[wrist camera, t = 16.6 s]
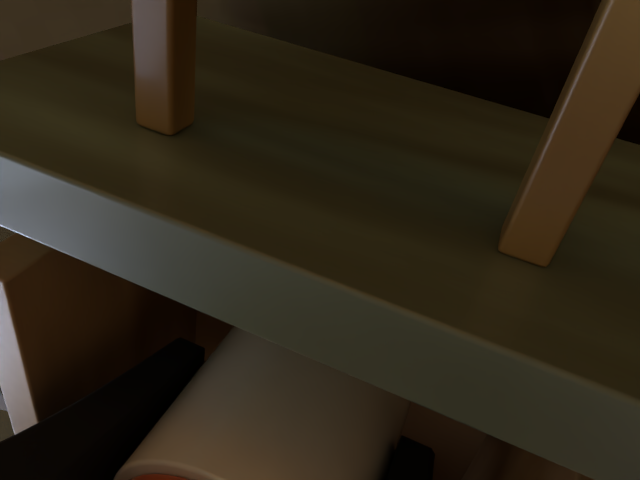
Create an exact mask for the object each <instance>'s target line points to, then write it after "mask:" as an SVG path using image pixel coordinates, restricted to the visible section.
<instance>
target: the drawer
mask: <svg viewBox="0 0 640 480" xmlns="http://www.w3.org/2000/svg"><path fill="white" fill-rule="evenodd" d="M131 16H132V23H129V24H125V25H122V26H118V27H115V28H111V29H108V30H105V31H101V32H98V33H94V34H91V35H87V36H84V37H80V38H77V39H74V40H70V41H67V42H63V43H60V44H56V45H53V46H49V47H46V48H43V49H39V50H36V51H32V52H29V53H25V54H22V55H18V56H15V57H12V58H8V59H5V60H1V61H0V226H2V227H4V228H6V229H9V230H11V231H13V232H16V233H15V234H14V235H12V236H10V237H9V238H7V239H5V240H4V241H2V242H0V386H1V389H2V393H3V396H4V400H5V403H6V406H7V410H8V413H9V417H10V420H11V423H12V427H13V430H14V434H17V433H19V432H21V431H23V430H25V429H27V428H29V427H31V426H33V425H35V424H37V423H39V422H40V421H42V420H44V419H46V418H48V417H50V416H51V415H53V414H55V413H57V412H59V411H60V410H62V409H64V408H66V407H68V406H70V405H71V404H73V403H75V402H77V401H78V400H80V399H82V398H84V397H85V396H87V395H89V394H90V393H92V392H94V391H95V390H97V389H99V388H100V387H102V386H104V385H105V384H107V383H108V382H110V381H112V380H113V379H115V378H117V377H118V376H120V375H121V374H123V373H125V372H126V371H128V370H129V369H131V368H133V367H134V366H136V365H137V364H139V363H140V362H142V361H143V360H145V359H146V358H148V357H150V356H151V355H153V354H154V353H156V352H157V351H159V350H160V349H162V348H163V347H165V346H166V345H168V344H169V343H171V342H172V341H174V340H175V339H177V338H180V337H181V338H184V339H186V340H188V341H190V342H193V343H195V344H197V345H199V346H202V347H204V348H205V357H204V361H205V360H206V359H207V358H208V356H209V355H210V354H211V352H212V351H213V350H214V349H215V347H216V346H217V345H218V344H219V342H220V341H221V340H222V339H223V337H224V336H225V335H226V334H227V332H228V331H229V330H230V329H231V327H232V326H236V327H238V328H240V329H243V330H245V331H247V332H250V333H252V334H254V335H257V336H259V337H261V338H264V339H266V340H268V341H271V342H273V343H275V344H278V345H280V346H282V347H285V348H287V349H289V350H292V351H294V352H296V353H299V354H301V355H303V356H306V357H308V358H310V359H313V360H315V361H317V362H320V363H322V364H324V365H327V366H329V367H331V368H334V369H336V370H339V371H341V372H343V373H346V374H348V375H350V376H353V377H355V378H357V379H360V380H362V381H364V382H367V383H369V384H371V385H374V386H376V387H378V388H381V389H383V390H385V391H388V392H390V393H392V394H395V395H397V396H399V397H402V398H404V399H406V400H409V401H411V406H410V409H409V413H408V416H407V419H406V422H405V425H404V428H403V431H402V434H401V435H403V436H405V437H407V438H410V439H412V440H414V441H416V442H419V443H421V444H423V445H425V446H428V447H430V448H432V450H433V451H434V453H435V459H434V467H433V480H640V145H638V144H635V143H631V142H628V141H624V140H621V139H618V138H616V137H617V135H618V134H619V132H620V130H621V128H622V126H623V124H624V122H625V120H626V118H627V117H628V115H629V113H630V111H631V109H632V107H633V105H634V103H635V101H636V100H637V98H638V96H639V94H640V0H601V3H600V5H599V7H598V9H597V12H596V14H595V16H594V19H593V21H592V23H591V25H590V28H589V30H588V32H587V35H586V37H585V39H584V41H583V44H582V46H581V48H580V50H579V53H578V55H577V57H576V60H575V62H574V64H573V66H572V69H571V71H570V73H569V75H568V78H567V80H566V82H565V85H564V87H563V89H562V91H561V94H560V96H559V98H558V101H557V103H556V105H555V107H554V110H553V112H552V114H551V116H550V119H549V118H545V117H542V116H539V115H535V114H532V113H528V112H525V111H521V110H518V109H515V108H511V107H508V106H504V105H501V104H497V103H494V102H491V101H487V100H484V99H480V98H477V97H473V96H470V95H467V94H463V93H460V92H456V91H453V90H449V89H446V88H443V87H439V86H436V85H432V84H429V83H425V82H422V81H419V80H415V79H412V78H408V77H405V76H401V75H398V74H395V73H391V72H388V71H384V70H381V69H377V68H374V67H370V66H367V65H364V64H360V63H357V62H353V61H350V60H346V59H343V58H340V57H336V56H333V55H329V54H326V53H322V52H319V51H316V50H312V49H309V48H305V47H302V46H298V45H295V44H292V43H288V42H285V41H281V40H278V39H274V38H271V37H268V36H264V35H261V34H257V33H254V32H250V31H247V30H244V29H240V28H237V27H233V26H230V25H226V24H223V23H220V22H216V21H213V20H209V19H206V18H202V17H199V16H197V0H131ZM400 438H401V437H400Z"/></svg>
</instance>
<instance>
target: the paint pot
mask: <svg viewBox="0 0 640 480" xmlns="http://www.w3.org/2000/svg"><path fill="white" fill-rule="evenodd" d="M410 406H411V401H409V400H406V399H404V398H402V397H399V396H397V395H395V394H392V393H390V392H388V391H385V390H383V389H381V388H378V387H376V386H374V385H371V384H369V383H367V382H364V381H362V380H360V379H357V378H355V377H353V376H350V375H348V374H346V373H343V372H341V371H339V370H336V369H334V368H331V367H329V366H327V365H324V364H322V363H320V362H317V361H315V360H313V359H310V358H308V357H306V356H303V355H301V354H299V353H296V352H294V351H292V350H289V349H287V348H285V347H282V346H280V345H278V344H275V343H273V342H271V341H268V340H266V339H264V338H261V337H259V336H257V335H254V334H252V333H250V332H247V331H245V330H243V329H240V328H238V327H236V326H232V327H231V329H230V330H229V331H228V332H227V334H226V335H225V336H224V337H223V339H222V340H221V341H220V342H219V344H218V345H217V346H216V347H215V349H214V350H213V351H212V352H211V354H210V355H209V356H208V358H207V359H206V360H205V361H204V363H203V364H202V365H201V366H200V368H199V369H198V370H197V371H196V373H195V374H194V375H193V376H192V378H191V379H190V380H189V381H188V383H187V384H186V385H185V386H184V388H183V389H182V390H181V391H180V393H179V394H178V395H177V396H176V398H175V399H174V400H173V402H172V403H171V404H170V405H169V407H168V408H167V409H166V410H165V412H164V413H163V414H162V415H161V417H160V418H159V419H158V420H157V422H156V423H155V424H154V425H153V427H152V428H151V429H150V430H149V432H148V433H147V434H146V435H145V437H144V438H143V439H142V441H141V442H140V443H139V444H138V446H137V447H136V448H135V449H134V451H133V452H132V453H131V454H130V456H129V457H128V458H127V459H126V461H125V462H124V463H123V464H122V466H121V467H120V468H119V469H118V471H117V473H116V474H115V476H114V479H113V480H385V479H386V476H387V473H388V470H389V467H390V464H391V461H392V458H393V455H394V452H395V449H396V447H397V445H398V442H399V440H400V437H401V434H402V431H403V428H404V425H405V422H406V419H407V416H408V413H409V409H410Z"/></svg>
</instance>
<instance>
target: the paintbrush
mask: <svg viewBox="0 0 640 480" xmlns="http://www.w3.org/2000/svg"><path fill="white" fill-rule="evenodd" d="M0 409H1V410H6V411H8V410H7V406H6V404H5V401H4V399H3V397H2V395H1V393H0Z"/></svg>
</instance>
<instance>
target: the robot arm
mask: <svg viewBox="0 0 640 480" xmlns="http://www.w3.org/2000/svg"><path fill="white" fill-rule="evenodd" d="M204 357H205V348H204V347H202V346H199V345H197V344H195V343H193V342H190V341H188V340H186V339H184V338H181V337H180V338H177V339H175V340H174V341H172V342H171V343H169V344H168V345H166V346H165V347H163V348H162V349H160V350H159V351H157V352H156V353H154V354H153V355H151V356H150V357H148V358H146V359H145V360H143V361H142V362H140V363H139V364H137V365H136V366H134V367H133V368H131V369H129V370H128V371H126V372H125V373H123V374H121V375H120V376H118V377H117V378H115V379H113V380H112V381H110V382H108V383H107V384H105V385H104V386H102V387H100V388H99V389H97V390H95V391H94V392H92V393H90V394H89V395H87V396H85V397H84V398H82V399H80V400H78V401H77V402H75V403H73V404H71V405H70V406H68V407H66V408H64V409H62V410H60V411H59V412H57V413H55V414H53V415H51V416H50V417H48V418H46V419H44V420H42V421H40V422H39V423H37V424H35V425H33V426H31V427H29V428H27V429H25V430H23V431H21V432H19V433H17V434H15V435H13V436H11V437H9V438H7V439H5V440H3V441H1V442H0V480H113V479H114V476H115V474H116V473H117V471H118V469H119V468H120V467H121V466H122V464H123V463H124V462H125V461H126V459H127V458H128V457H129V456H130V454H131V453H132V452H133V451H134V449H135V448H136V447H137V446H138V444H139V443H140V442H141V441H142V439H143V438H144V437H145V435H146V434H147V433H148V432H149V430H150V429H151V428H152V427H153V425H154V424H155V423H156V422H157V420H158V419H159V418H160V417H161V415H162V414H163V413H164V412H165V410H166V409H167V408H168V407H169V405H170V404H171V403H172V402H173V400H174V399H175V398H176V396H177V395H178V394H179V393H180V391H181V390H182V389H183V388H184V386H185V385H186V384H187V383H188V381H189V380H190V379H191V378H192V376H193V375H194V374H195V373H196V371H197V370H198V369H199V368H200V366H201V365H202V364H203V363H204ZM434 459H435V453H434V451H433V450H432V448H430V447H428V446H425V445H423V444H421V443H419V442H416V441H414V440H412V439H410V438H407V437H405V436H403V435H401V438H400V440H399V442H398V445H397V447H396V449H395V452H394V455H393V458H392V461H391V464H390V467H389V470H388V473H387V476H386V479H385V480H433V467H434Z"/></svg>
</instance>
